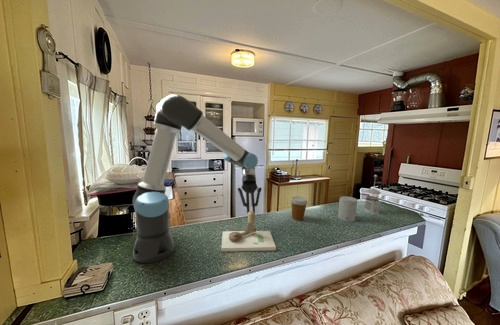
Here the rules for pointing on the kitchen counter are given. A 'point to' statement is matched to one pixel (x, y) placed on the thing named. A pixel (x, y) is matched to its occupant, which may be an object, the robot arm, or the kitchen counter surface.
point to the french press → (372, 201)
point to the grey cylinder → (347, 208)
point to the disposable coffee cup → (298, 208)
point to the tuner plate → (248, 242)
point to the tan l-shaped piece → (238, 236)
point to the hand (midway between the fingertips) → (251, 219)
